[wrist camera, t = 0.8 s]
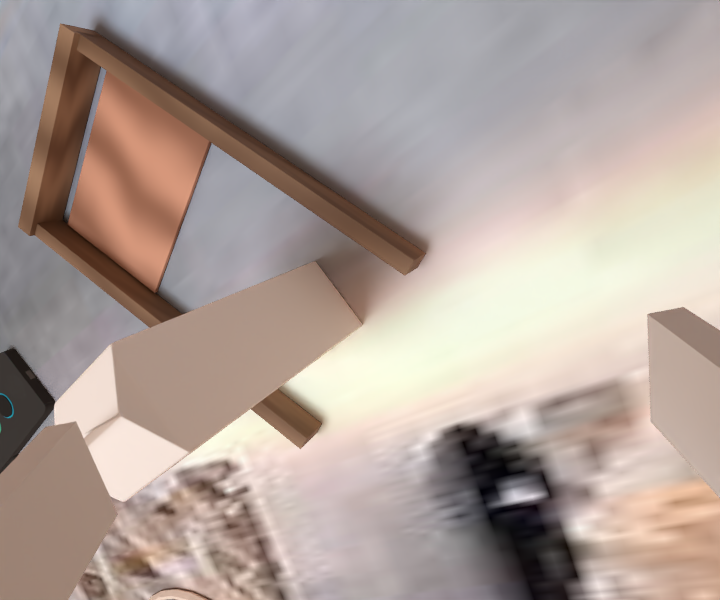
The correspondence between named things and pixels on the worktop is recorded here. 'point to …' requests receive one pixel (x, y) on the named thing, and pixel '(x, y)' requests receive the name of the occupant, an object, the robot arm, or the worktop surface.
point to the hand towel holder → (177, 595)
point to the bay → (155, 185)
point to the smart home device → (19, 405)
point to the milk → (200, 374)
